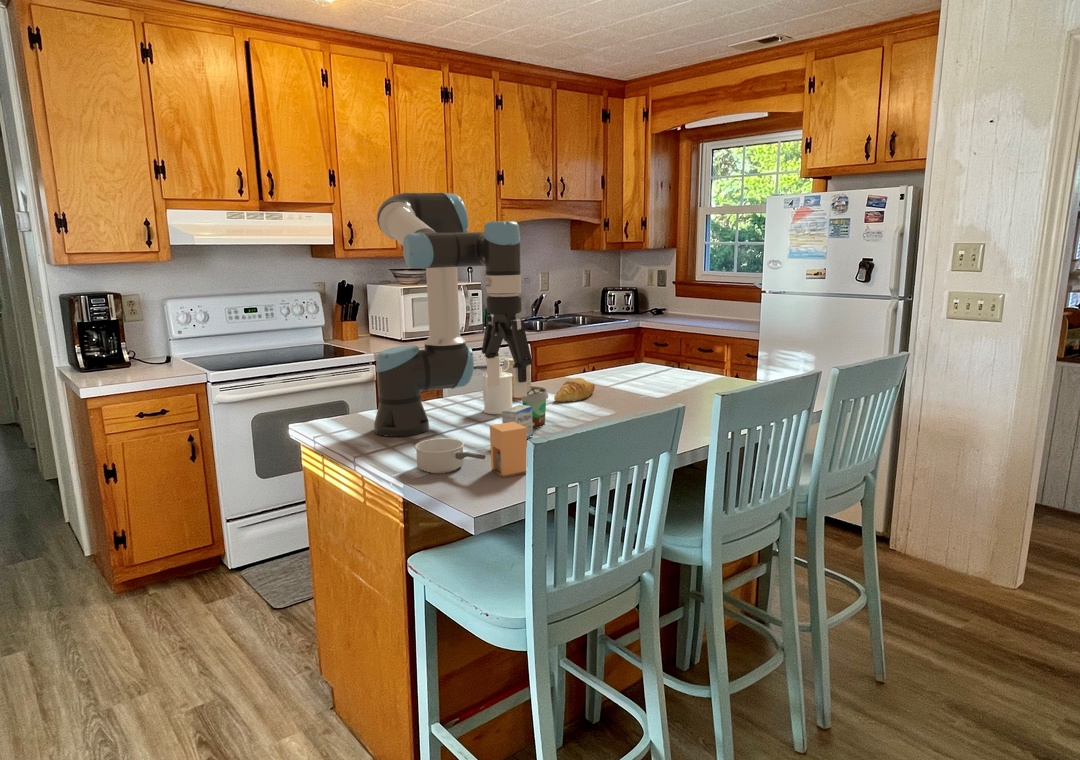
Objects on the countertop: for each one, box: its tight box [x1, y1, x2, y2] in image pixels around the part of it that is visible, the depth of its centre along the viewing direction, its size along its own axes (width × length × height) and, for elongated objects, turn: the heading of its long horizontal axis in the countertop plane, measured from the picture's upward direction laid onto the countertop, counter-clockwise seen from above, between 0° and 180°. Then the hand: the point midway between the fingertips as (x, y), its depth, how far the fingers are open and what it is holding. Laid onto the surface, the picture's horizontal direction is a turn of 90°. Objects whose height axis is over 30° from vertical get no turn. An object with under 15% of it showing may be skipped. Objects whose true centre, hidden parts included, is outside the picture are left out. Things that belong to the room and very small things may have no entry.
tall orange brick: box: [489, 422, 528, 476], centre depth 154 cm, size 6×6×10 cm
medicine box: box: [501, 404, 534, 440], centre depth 179 cm, size 8×4×9 cm, turn 148°
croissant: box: [554, 377, 596, 403], centre depth 229 cm, size 21×10×8 cm, turn 142°
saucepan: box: [414, 437, 486, 474], centre depth 156 cm, size 12×20×6 cm, turn 50°
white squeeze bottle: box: [481, 348, 514, 415], centre depth 210 cm, size 10×9×20 cm
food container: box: [521, 385, 549, 429], centre depth 194 cm, size 12×6×10 cm, turn 168°
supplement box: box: [503, 357, 532, 400], centre depth 231 cm, size 8×5×13 cm, turn 49°
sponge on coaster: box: [491, 452, 526, 479], centre depth 154 cm, size 6×6×5 cm
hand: (506, 391), depth 151 cm, fingers open, 13 cm apart
